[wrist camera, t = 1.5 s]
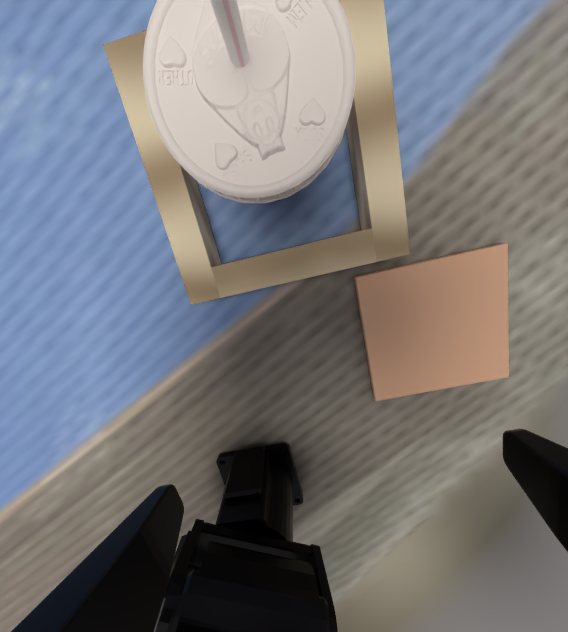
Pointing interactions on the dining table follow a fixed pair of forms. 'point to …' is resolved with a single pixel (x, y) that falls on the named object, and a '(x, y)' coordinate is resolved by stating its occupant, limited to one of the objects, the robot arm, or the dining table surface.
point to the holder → (366, 159)
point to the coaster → (436, 322)
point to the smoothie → (250, 91)
